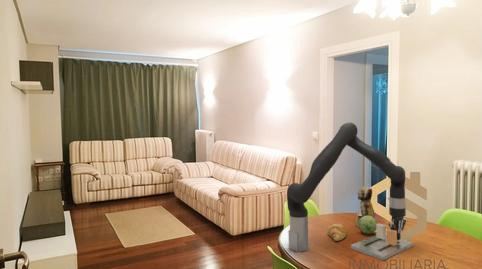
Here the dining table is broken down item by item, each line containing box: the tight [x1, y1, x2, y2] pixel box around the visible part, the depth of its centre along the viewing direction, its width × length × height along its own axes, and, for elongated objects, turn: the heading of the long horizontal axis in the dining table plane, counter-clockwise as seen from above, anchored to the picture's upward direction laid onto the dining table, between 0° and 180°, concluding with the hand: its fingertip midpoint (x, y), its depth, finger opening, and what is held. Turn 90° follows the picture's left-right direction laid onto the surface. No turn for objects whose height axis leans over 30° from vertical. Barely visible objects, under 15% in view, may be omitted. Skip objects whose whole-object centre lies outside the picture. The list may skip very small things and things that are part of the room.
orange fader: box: [386, 228, 397, 246], centre depth 168 cm, size 2×4×7 cm, turn 35°
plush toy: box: [354, 186, 376, 228], centre depth 202 cm, size 14×14×25 cm
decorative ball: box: [358, 216, 378, 235], centre depth 190 cm, size 10×10×10 cm
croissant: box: [326, 222, 347, 242], centre depth 189 cm, size 21×10×8 cm, turn 164°
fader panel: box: [350, 234, 414, 261], centre depth 171 cm, size 26×18×2 cm
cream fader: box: [375, 222, 387, 239], centre depth 177 cm, size 2×4×7 cm, turn 35°
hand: (397, 239), depth 172 cm, fingers closed
